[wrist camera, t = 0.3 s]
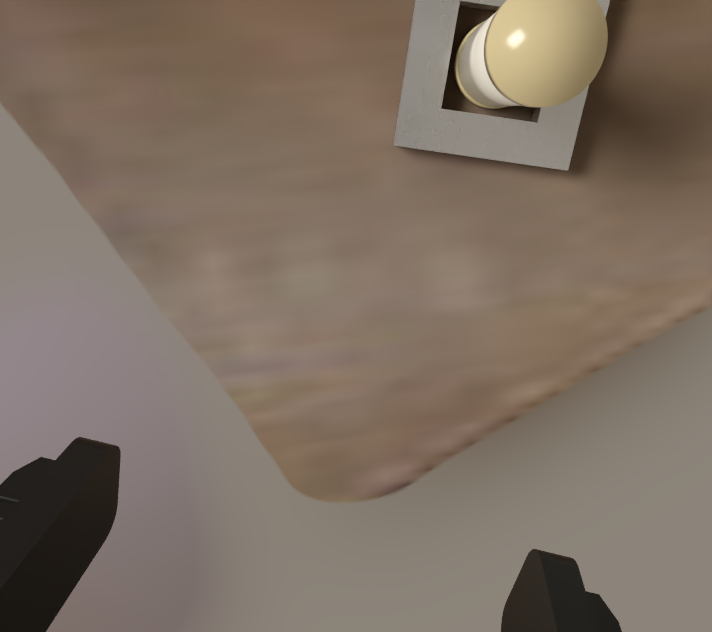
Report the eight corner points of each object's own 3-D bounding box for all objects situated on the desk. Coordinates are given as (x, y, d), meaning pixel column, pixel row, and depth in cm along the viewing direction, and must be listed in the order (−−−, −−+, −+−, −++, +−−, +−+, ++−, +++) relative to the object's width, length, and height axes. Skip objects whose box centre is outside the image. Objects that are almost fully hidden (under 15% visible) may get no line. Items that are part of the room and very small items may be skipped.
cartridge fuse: (462, 14, 33) (502, -31, 23) (544, 26, 33) (622, -13, 23) (446, 102, 34) (477, 98, 24) (525, 114, 35) (590, 114, 24)
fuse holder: (422, -49, 32) (424, -56, 31) (606, -21, 32) (616, -27, 31) (392, 144, 35) (393, 145, 34) (560, 168, 35) (567, 170, 34)
